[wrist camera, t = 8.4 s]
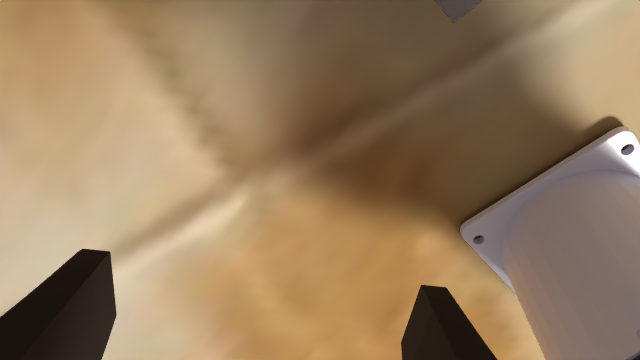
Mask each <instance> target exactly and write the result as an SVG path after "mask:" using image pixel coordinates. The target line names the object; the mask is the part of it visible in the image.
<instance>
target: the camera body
mask: <svg viewBox="0 0 640 360" xmlns="http://www.w3.org/2000/svg"><path fill="white" fill-rule="evenodd" d="M435 1H436V3H437V4H438V5H439V6H440V7H441V9H442V10H443V11H444V12H445V13H446V15H447V16H448V17H449V18H450V20H451V21H452V22H453V23H455V22H456V21H457V20H458V19H460V18H461V17H462V16H463V15H465V14H466V13H467V12H468V11H470V10H471V9H472V8H473V7H475V6H476V5H477V4H478V3H480V2H481V1H482V0H435Z"/></svg>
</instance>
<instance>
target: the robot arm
mask: <svg viewBox="0 0 640 360" xmlns="http://www.w3.org/2000/svg"><path fill="white" fill-rule="evenodd" d="M627 144H629V146H628V147H627V148H626V149H625V150H622V151H621V149H622V148H623V147H624V146H625V145H627ZM460 233H461V235H462V237H463V239H464V240H465V241H466V242H467V243H468V244H469V245H470V246H471V247H472V248H473V249H474V250H475V252H476V253H477V254H478V255H479V256H480V257H481V258H482V259H483V260H484V261H485V262H486V263H487V264H488V265H489V266H490V267H491V268H492V270H493V271H494V272H495V273H496V274H497V275H498V276H499V277H500V278H501V279H502V280H503V281H504V282H505V283H506V284H507V285H508V286H509V288H510V289H511V290H512V291H513V292H514V293H515V294H516V295H517V297H518V299H519V302H520V304H521V306H522V308H523V310H524V313H525V315H526V317H527V319H528V321H529V324H530V326H531V328H532V330H533V332H534V335H535V337H536V339H537V341H538V343H539V346H540V348H541V350H542V352H543V354H544V357H545V359H546V360H640V143H639V141H638V140H637V138H636V136H635V135H634V133H633V132H631V131H630V130H629V129H628V128H627V127H617V128H615V129H612V130H611V131H609V132H608V133H606V134H605V135H603V136H601V137H600V138H598V139H597V140H595V141H593V142H592V143H590V144H589V145H587V146H585V147H584V148H582V149H581V150H579V151H577V152H576V153H574V154H573V155H571V156H569V157H568V158H566V159H565V160H563V161H561V162H560V163H558V164H557V165H555V166H553V167H552V168H550V169H549V170H547V171H546V172H544V173H542V174H541V175H539V176H538V177H536V178H534V179H533V180H531V181H530V182H528V183H526V184H525V185H523V186H522V187H520V188H518V189H517V190H515V191H514V192H512V193H510V194H509V195H507V196H506V197H504V198H502V199H501V200H499V201H498V202H496V203H494V204H493V205H491V206H490V207H488V208H487V209H485V210H483V211H482V212H480V213H479V214H477V215H475V216H474V217H472V218H471V219H469V220H467V221H466V222H464V223H463V224H462V225H461V227H460ZM478 235H482V236H481V237H480V238H478V239H474V238H475V237H476V236H478ZM115 318H116V305H115V295H114V285H113V275H112V265H111V255H110V252H109V251H99V250H90V249H81V250H80V251H79V252H77V253H76V254H75V255H74V256H73V257H71V258H70V259H69V260H68V261H67V262H66V263H65V264H63V265H62V266H61V267H60V268H59V269H58V270H56V271H55V272H54V273H53V274H52V275H51V276H50V277H48V278H47V279H46V280H45V281H44V282H43V283H41V284H40V285H39V286H38V287H37V288H35V289H34V290H33V291H32V292H31V293H30V294H28V295H27V296H26V297H25V298H23V299H22V300H21V301H20V302H18V303H17V304H16V305H15V306H14V307H12V308H11V309H10V310H9V311H7V312H6V313H5V314H4V315H3V316H1V317H0V360H101V359H102V357H103V354H104V351H105V348H106V345H107V342H108V339H109V336H110V333H111V330H112V327H113V324H114V321H115ZM401 348H402V360H497V358H496V357H495V356H494V354H493V353H492V352H491V350H490V349H489V348H488V346H487V345H486V344H485V342H484V341H483V339H482V338H481V337H480V335H479V334H478V332H477V331H476V330H475V328H474V327H473V325H472V324H471V322H470V321H469V320H468V318H467V317H466V315H465V314H464V312H463V311H462V309H461V308H460V306H459V305H458V304H457V302H456V301H455V299H454V298H453V296H452V295H451V294H450V292H449V291H448V289H447V288H446V287H436V286H427V285H421V287H420V290H419V293H418V295H417V298H416V301H415V304H414V307H413V310H412V313H411V316H410V319H409V321H408V324H407V327H406V330H405V333H404V336H403V339H402V342H401Z"/></svg>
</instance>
